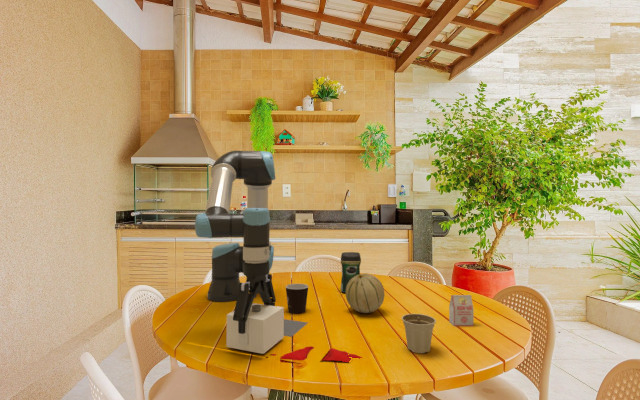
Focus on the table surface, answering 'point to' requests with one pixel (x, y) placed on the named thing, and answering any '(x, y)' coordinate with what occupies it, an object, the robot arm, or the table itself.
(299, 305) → the coffee mug
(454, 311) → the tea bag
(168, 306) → the table surface
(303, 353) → the cloth
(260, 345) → the cover
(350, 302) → the cantaloupe
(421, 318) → the flower pot
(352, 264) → the coffee jar
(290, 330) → the mat
